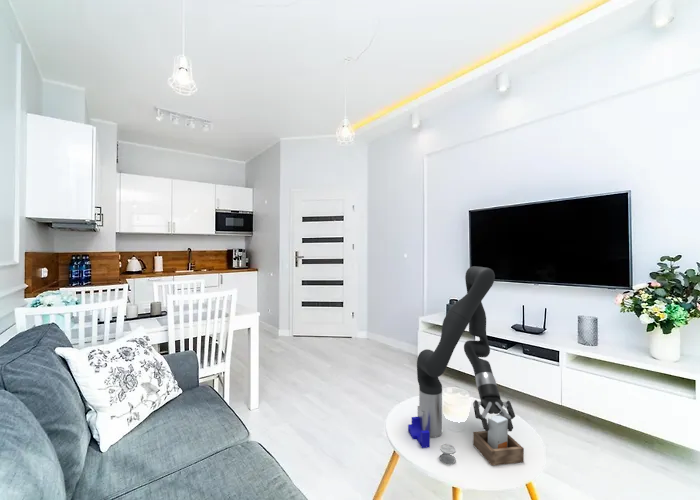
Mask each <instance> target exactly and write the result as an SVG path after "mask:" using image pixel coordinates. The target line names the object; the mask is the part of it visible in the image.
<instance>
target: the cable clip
mask: <svg viewBox="0 0 700 500" xmlns="http://www.w3.org/2000/svg"><path fill="white" fill-rule="evenodd" d="M407 432H408V433H409V435H410V437H411V438H412V440H416V441H417V442H418V444H419V446H420V447H421V449H427V448H428V449H429V448H430V447H431V444H430V443H431V441H430V440H431V437H430V432H429V431H428V430H426V431H422V430H421V426H420V418H419V417H418V416H411V424H407Z"/></svg>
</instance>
